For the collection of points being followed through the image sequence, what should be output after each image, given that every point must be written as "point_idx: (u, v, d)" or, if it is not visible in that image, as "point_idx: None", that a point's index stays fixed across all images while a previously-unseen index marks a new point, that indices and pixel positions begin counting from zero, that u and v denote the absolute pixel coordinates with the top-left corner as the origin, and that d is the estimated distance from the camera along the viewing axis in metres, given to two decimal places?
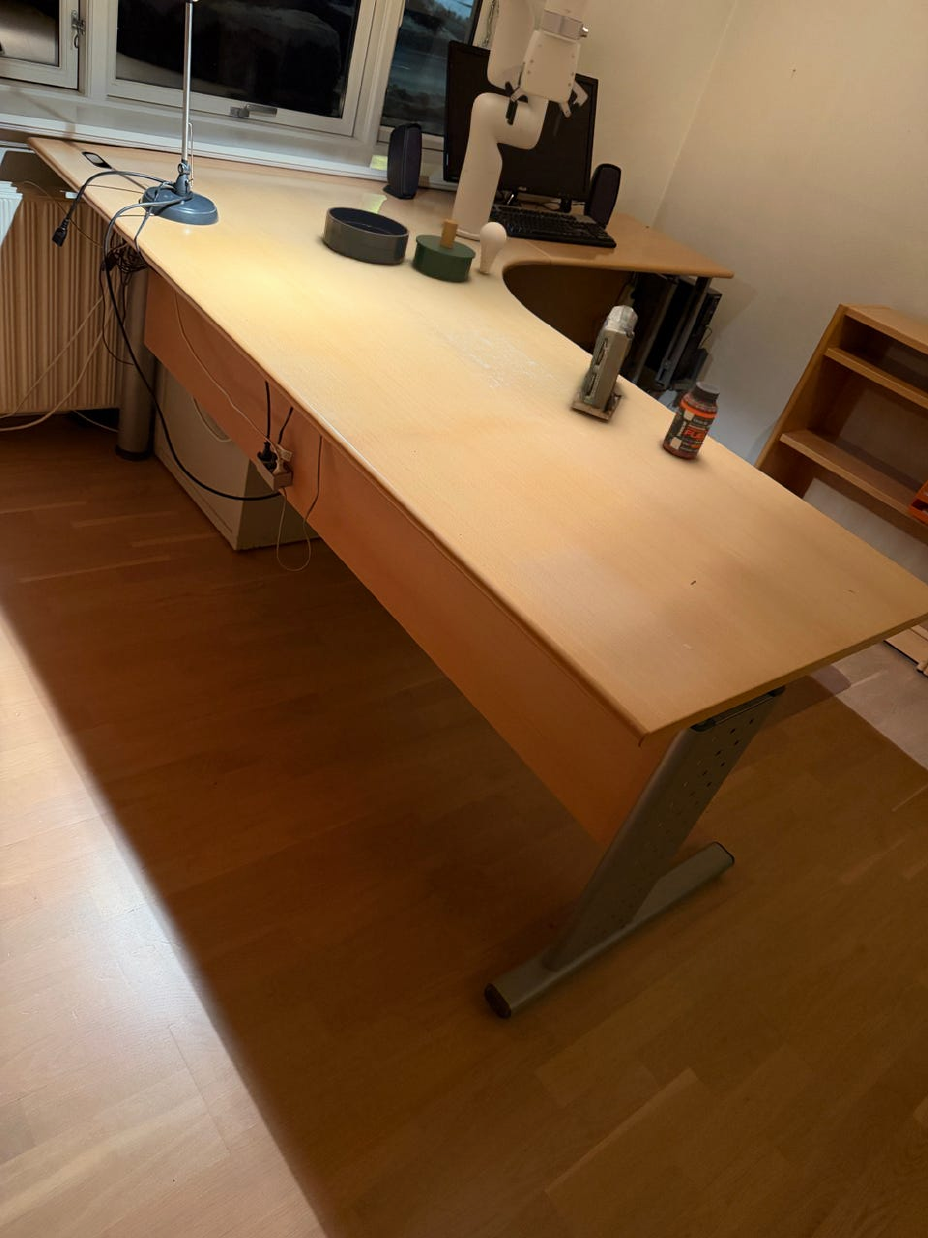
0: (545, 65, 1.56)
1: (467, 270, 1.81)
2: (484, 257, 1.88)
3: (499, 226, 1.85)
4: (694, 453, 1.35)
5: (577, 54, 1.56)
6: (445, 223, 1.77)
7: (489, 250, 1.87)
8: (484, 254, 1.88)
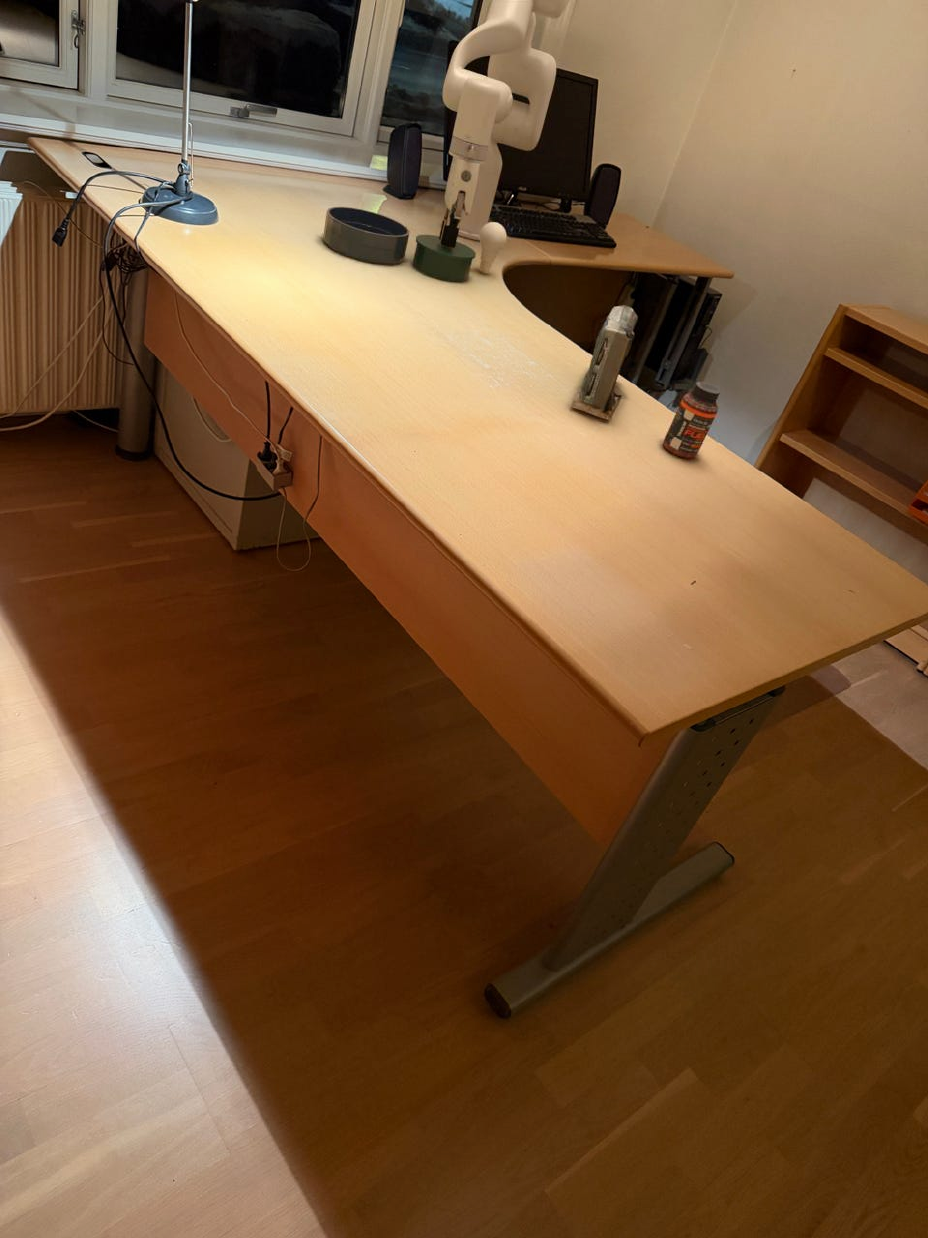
0: (448, 177, 1.73)
1: (467, 270, 1.81)
2: (484, 257, 1.88)
3: (499, 226, 1.85)
4: (694, 453, 1.35)
5: (457, 167, 1.68)
6: (445, 223, 1.77)
7: (489, 250, 1.87)
8: (484, 254, 1.88)
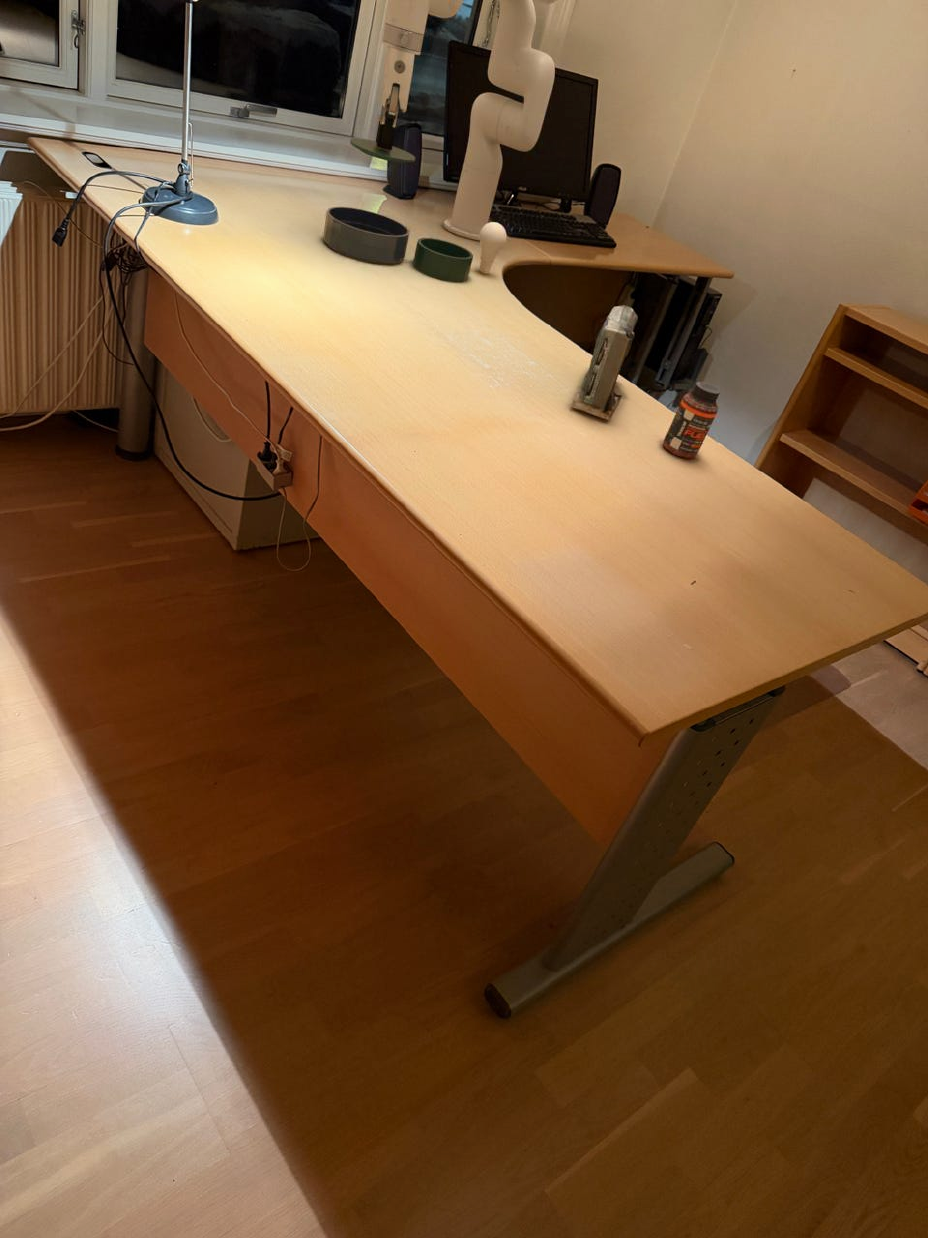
0: (383, 72, 1.63)
1: (467, 270, 1.81)
2: (484, 257, 1.88)
3: (499, 226, 1.85)
4: (694, 453, 1.35)
5: (390, 57, 1.57)
6: None
7: (489, 250, 1.87)
8: (484, 254, 1.88)
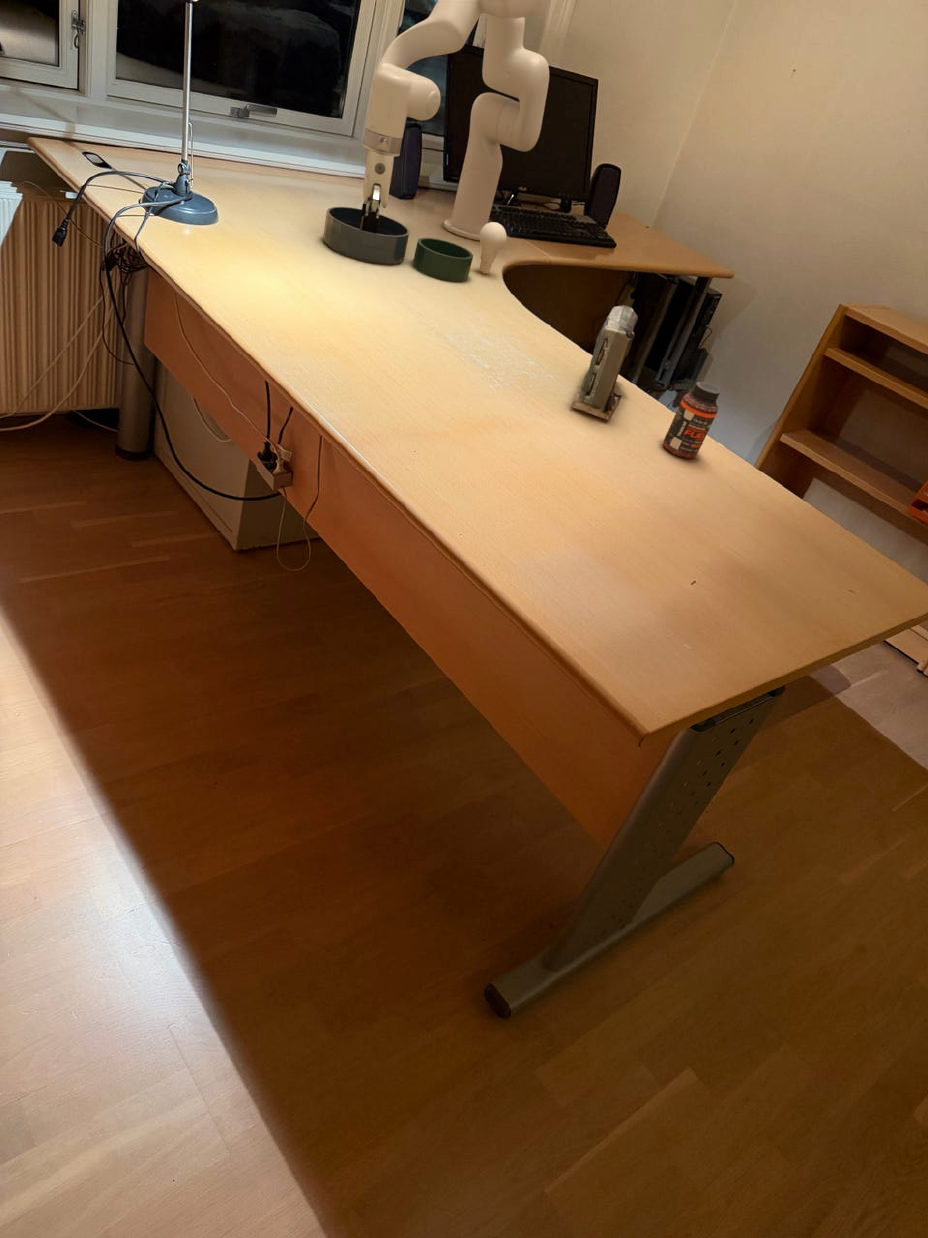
0: (365, 170, 1.73)
1: (467, 270, 1.81)
2: (484, 257, 1.88)
3: (499, 226, 1.85)
4: (694, 453, 1.35)
5: (370, 160, 1.67)
6: (362, 220, 1.77)
7: (489, 250, 1.87)
8: (484, 254, 1.88)
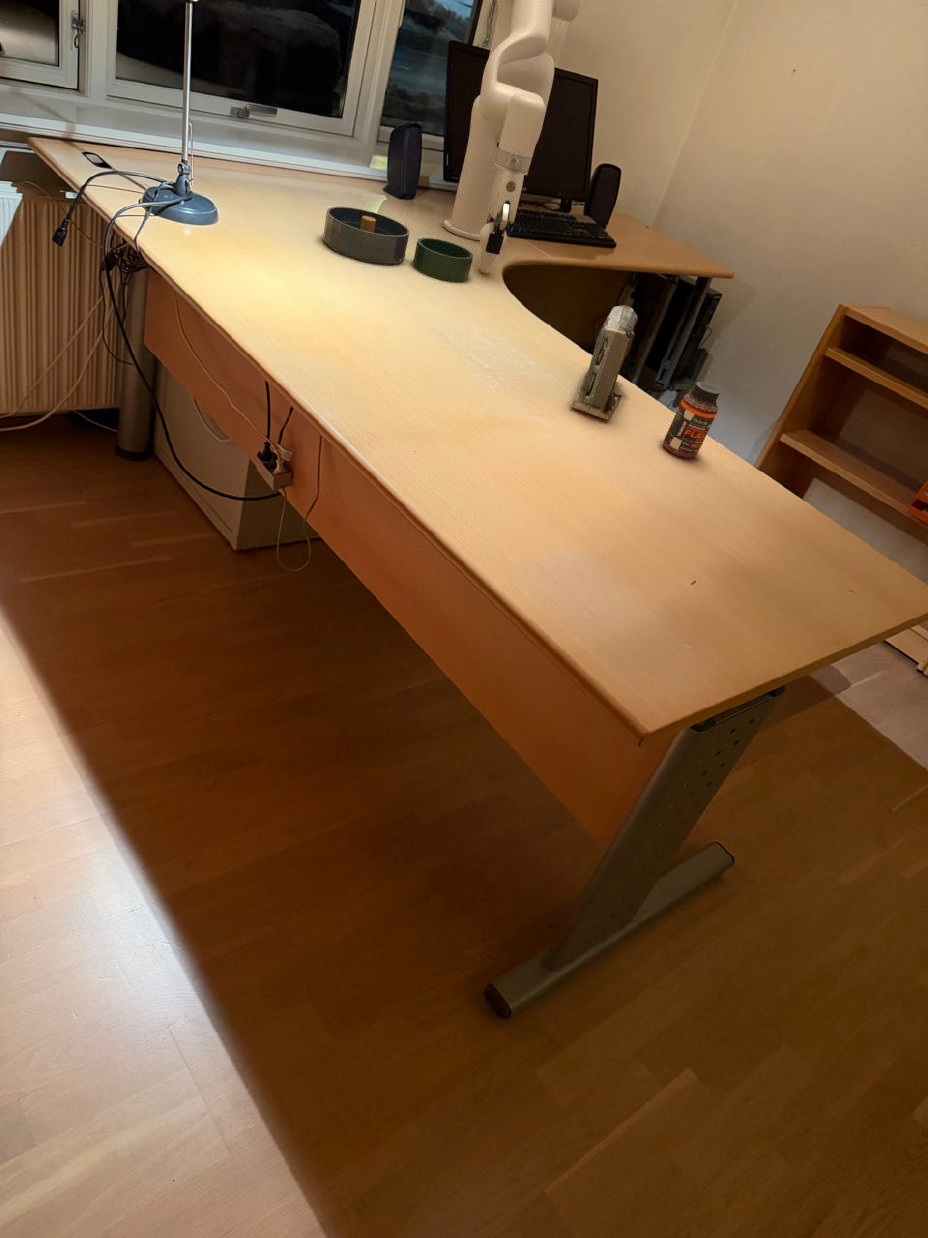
0: (492, 187, 1.82)
1: (467, 270, 1.81)
2: (484, 257, 1.88)
3: None
4: (694, 453, 1.35)
5: (502, 178, 1.76)
6: (362, 220, 1.77)
7: None
8: (484, 255, 1.88)
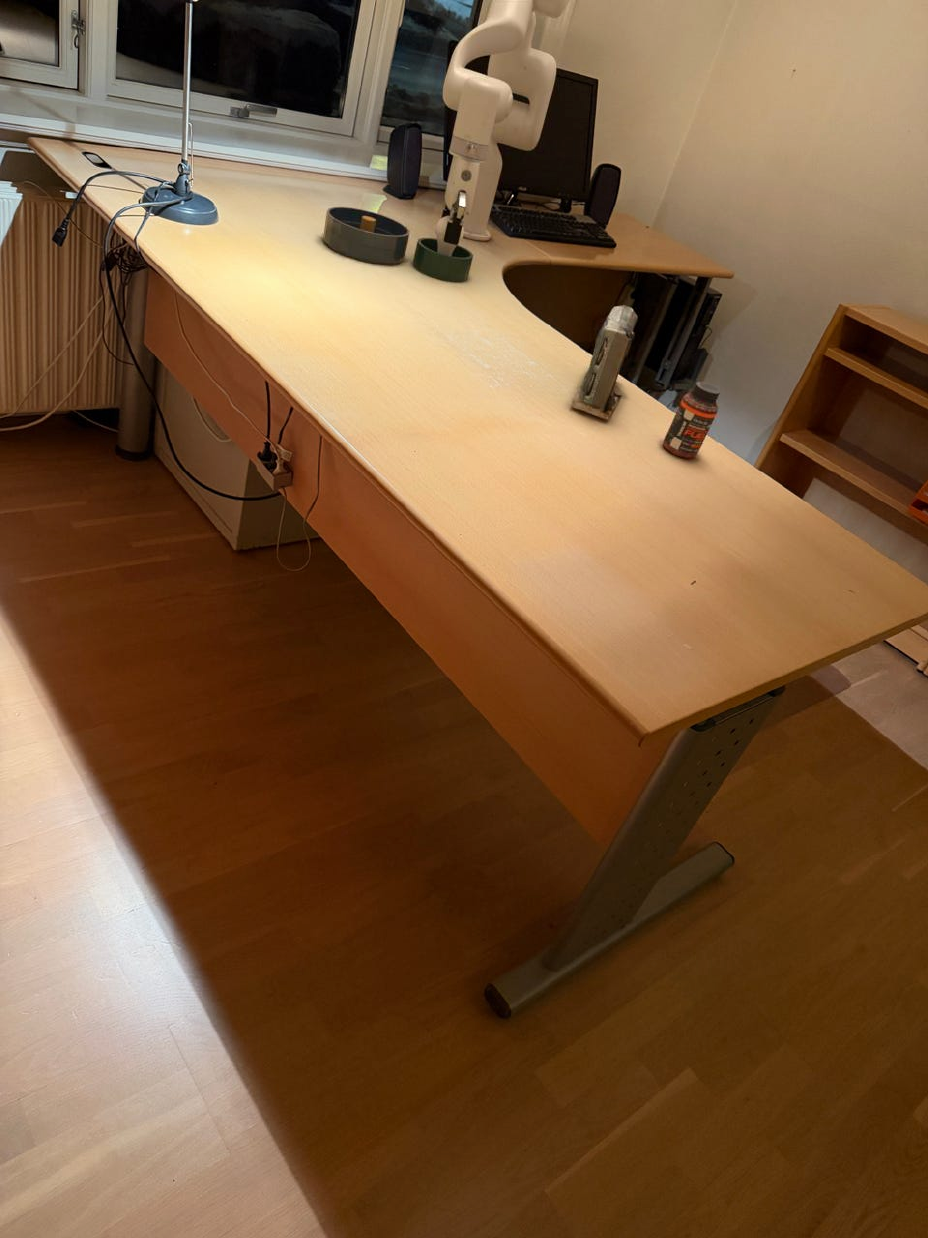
0: (448, 177, 1.73)
1: (467, 270, 1.81)
2: (441, 252, 1.80)
3: None
4: (694, 453, 1.35)
5: (457, 167, 1.67)
6: (362, 220, 1.77)
7: (445, 245, 1.79)
8: (440, 250, 1.80)
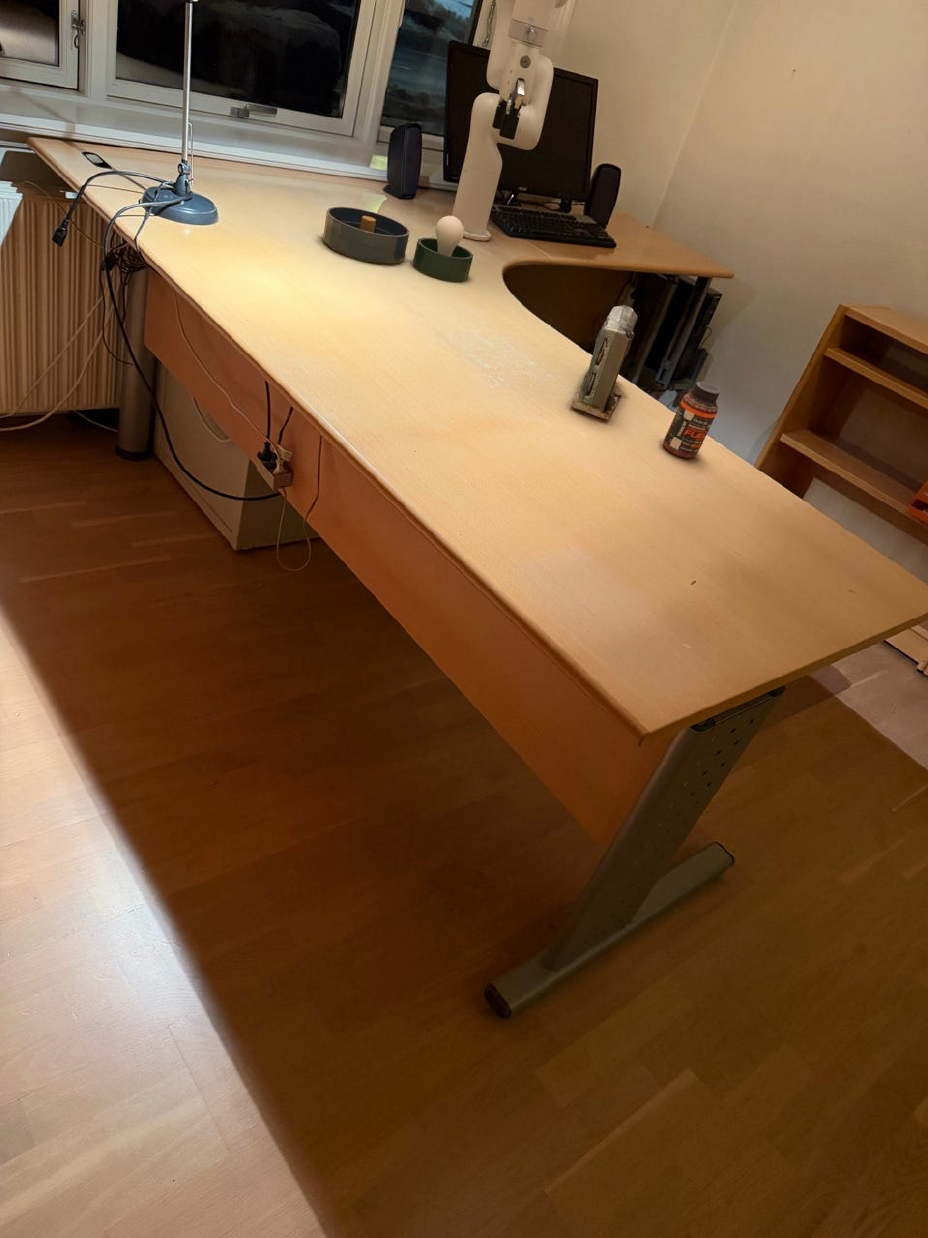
0: (505, 67, 1.67)
1: (467, 270, 1.81)
2: (441, 252, 1.80)
3: (455, 220, 1.76)
4: (694, 453, 1.35)
5: (516, 53, 1.61)
6: (362, 220, 1.77)
7: (445, 245, 1.79)
8: (440, 250, 1.80)
